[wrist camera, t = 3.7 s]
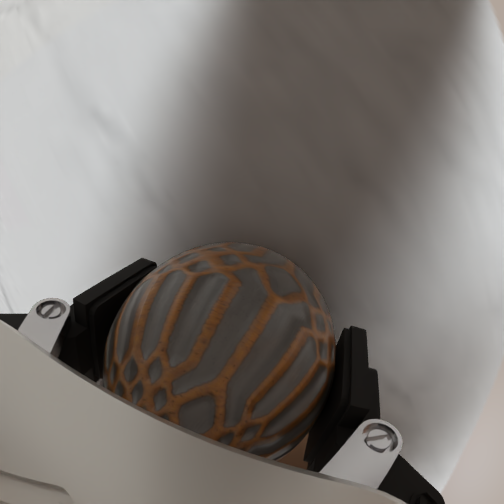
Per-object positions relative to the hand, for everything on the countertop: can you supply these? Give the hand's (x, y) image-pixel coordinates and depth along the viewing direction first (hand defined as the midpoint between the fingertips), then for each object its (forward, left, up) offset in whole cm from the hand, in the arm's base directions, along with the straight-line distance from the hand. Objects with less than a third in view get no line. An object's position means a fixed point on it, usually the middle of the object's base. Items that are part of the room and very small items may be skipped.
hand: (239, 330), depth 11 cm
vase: (0, 0, -2) cm, 2 cm away
